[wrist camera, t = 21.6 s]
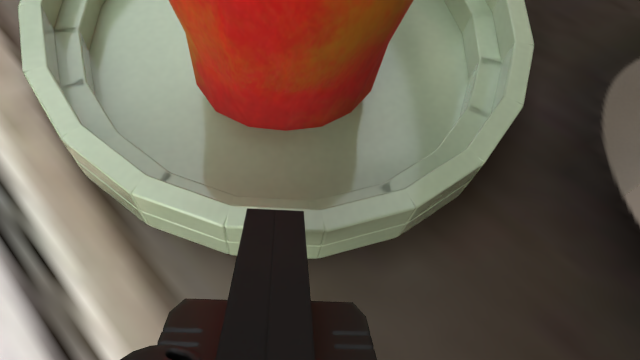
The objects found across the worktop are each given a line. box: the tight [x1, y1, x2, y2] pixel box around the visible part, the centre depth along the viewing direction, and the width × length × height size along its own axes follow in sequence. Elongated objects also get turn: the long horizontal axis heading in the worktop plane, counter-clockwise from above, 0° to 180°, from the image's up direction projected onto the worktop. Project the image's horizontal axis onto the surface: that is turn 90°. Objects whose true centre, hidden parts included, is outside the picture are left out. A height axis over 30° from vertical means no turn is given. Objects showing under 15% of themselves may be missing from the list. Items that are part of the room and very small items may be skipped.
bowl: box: [18, 0, 534, 259], centre depth 22 cm, size 20×20×4 cm
